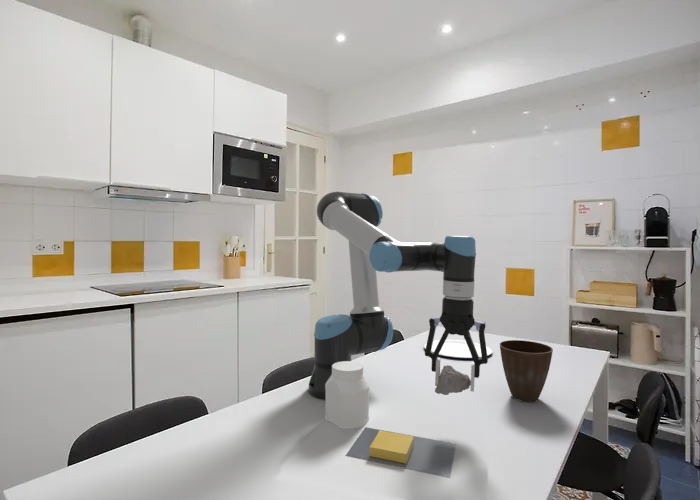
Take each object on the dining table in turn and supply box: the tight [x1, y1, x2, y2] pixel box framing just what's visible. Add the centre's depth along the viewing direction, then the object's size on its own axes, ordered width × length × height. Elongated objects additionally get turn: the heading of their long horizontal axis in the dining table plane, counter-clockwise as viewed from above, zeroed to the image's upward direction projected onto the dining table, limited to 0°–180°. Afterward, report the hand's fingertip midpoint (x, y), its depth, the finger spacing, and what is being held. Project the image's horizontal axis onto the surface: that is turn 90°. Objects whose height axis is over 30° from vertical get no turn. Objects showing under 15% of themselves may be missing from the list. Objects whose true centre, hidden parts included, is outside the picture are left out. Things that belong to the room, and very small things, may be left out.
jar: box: [324, 360, 370, 430], centre depth 103 cm, size 12×10×15 cm
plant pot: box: [499, 339, 554, 403], centre depth 121 cm, size 15×15×16 cm
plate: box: [423, 339, 493, 360], centre depth 174 cm, size 29×29×2 cm
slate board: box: [345, 426, 457, 479], centre depth 88 cm, size 22×14×1 cm, turn 70°
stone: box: [434, 364, 471, 396], centre depth 99 cm, size 10×8×6 cm
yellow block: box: [370, 429, 415, 463], centre depth 87 cm, size 8×2×8 cm
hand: (454, 386), depth 100 cm, fingers closed on stone, 8 cm apart
